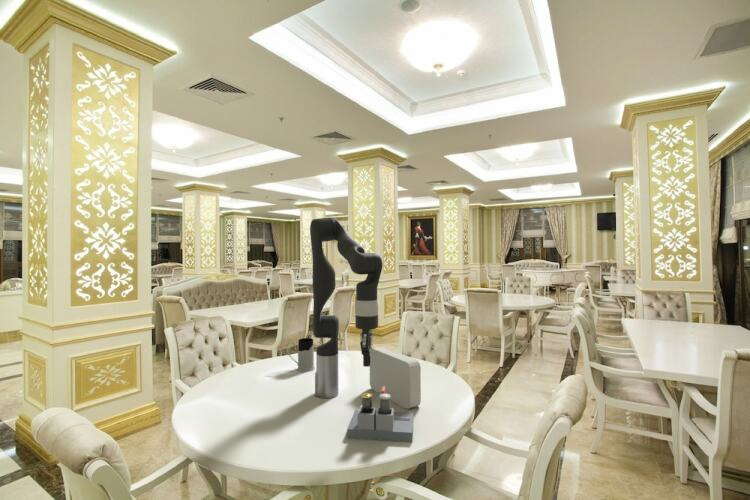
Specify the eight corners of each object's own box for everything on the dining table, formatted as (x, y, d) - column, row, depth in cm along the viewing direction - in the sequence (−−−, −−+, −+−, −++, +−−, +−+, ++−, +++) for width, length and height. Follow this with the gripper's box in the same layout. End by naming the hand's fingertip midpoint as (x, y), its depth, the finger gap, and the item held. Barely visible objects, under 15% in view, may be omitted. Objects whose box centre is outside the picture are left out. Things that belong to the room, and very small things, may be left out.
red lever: (378, 420, 128) (378, 390, 128) (379, 414, 133) (379, 386, 133) (387, 420, 128) (387, 391, 128) (388, 415, 132) (388, 386, 132)
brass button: (360, 412, 123) (360, 396, 123) (362, 407, 127) (362, 392, 127) (371, 412, 123) (371, 397, 123) (373, 408, 127) (372, 393, 127)
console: (347, 438, 123) (347, 413, 123) (355, 417, 138) (355, 395, 138) (412, 442, 120) (412, 416, 120) (413, 420, 135) (413, 398, 135)
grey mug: (313, 371, 190) (312, 341, 190) (284, 371, 190) (284, 341, 190) (315, 366, 199) (315, 337, 199) (288, 366, 199) (288, 337, 199)
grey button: (379, 413, 123) (379, 397, 123) (380, 408, 126) (380, 393, 126) (390, 413, 122) (390, 398, 122) (390, 409, 126) (390, 393, 126)
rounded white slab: (425, 406, 148) (425, 360, 148) (410, 411, 144) (410, 363, 144) (383, 384, 172) (383, 345, 172) (369, 388, 167) (369, 347, 167)
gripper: (375, 317, 118) (375, 372, 118) (380, 310, 131) (380, 360, 131) (352, 316, 119) (352, 371, 119) (358, 310, 132) (358, 359, 132)
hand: (366, 365), depth 125 cm, fingers closed
